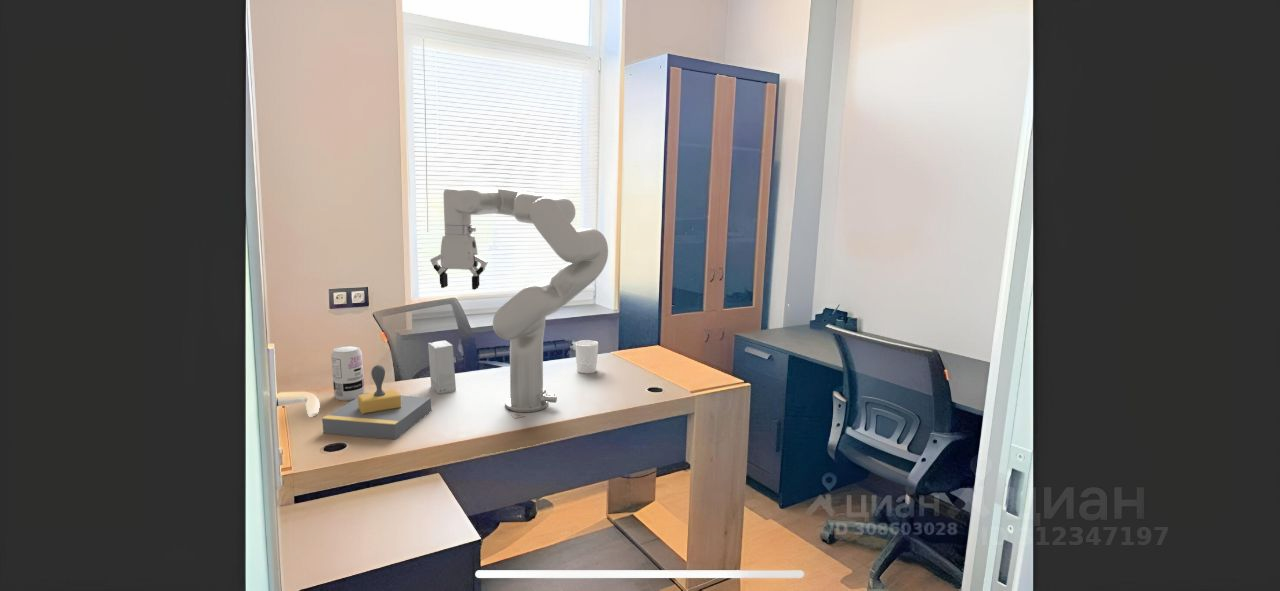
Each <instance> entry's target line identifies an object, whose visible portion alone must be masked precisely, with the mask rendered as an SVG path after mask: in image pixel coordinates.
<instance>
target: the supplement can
mask: <svg viewBox="0 0 1280 591" xmlns="http://www.w3.org/2000/svg"><path fill="white" fill-rule="evenodd" d="M330 356H331V357H330V358H331V366H332V367H331V369H332V381H333V382H332V384H333V395H334V398H336V399H337V400H338V401H342V400H346V402H348V401H347V400H349V401H353V400H354V399H356V398H358V395H361V394H364V393H365V385H364V384H365V381H364V380H365V379H364V366H363V364H364V362H363V352H362V350H361V349H360V347H359V346H358V345H342V346H336V347H335V348H333V351H332V352H331V354H330Z"/></svg>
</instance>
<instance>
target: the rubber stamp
mask: <svg viewBox="0 0 1280 591" xmlns="http://www.w3.org/2000/svg"><path fill="white" fill-rule="evenodd" d="M385 375H386V370H385V368H384V366H382V365H381V364H380V365H379V364H376V365H374V366H373V367H372V369H371V378H372V380H373V383H374V384H375V387H376V391H375V392H366V393H367V394H361V395H358V406H359V410H360V411H361V413H362V414H367V413H373V412H378V411H384V410H390V409H396V408H401V396H402V394H400V392H399V391H398V390H397V389H396V388H395V389H387V390H383V389H382V385H383V382H384V380H385V377H386V376H385Z"/></svg>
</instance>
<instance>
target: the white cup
mask: <svg viewBox="0 0 1280 591" xmlns="http://www.w3.org/2000/svg"><path fill="white" fill-rule="evenodd" d="M598 353H599V342H598V341H596V340H590V339H584V340H578V341H576V342H575V363H576V371H577V372H578V373H581V374H594V373H595V372H597V364H598Z"/></svg>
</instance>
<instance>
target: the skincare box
mask: <svg viewBox="0 0 1280 591" xmlns="http://www.w3.org/2000/svg"><path fill="white" fill-rule="evenodd" d="M427 348H428V362H429V373H430V376H429V377H430V386H431V388H432V389H433V390H434V391H435V392H436V394H439V395H440V394H445V393H451V392H456V391H457V386H456V372H455V371H456V370H455V359H454V346H453V344H452V343H451V342H449V341H447V340H446V339H445V340H437V341H433V342H428V343H427Z"/></svg>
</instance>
